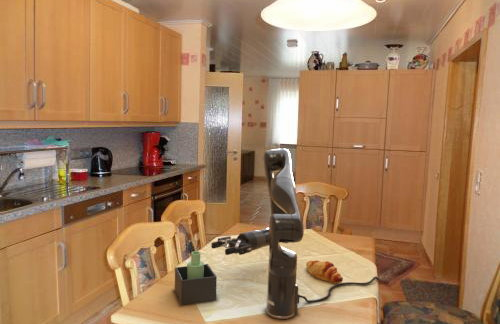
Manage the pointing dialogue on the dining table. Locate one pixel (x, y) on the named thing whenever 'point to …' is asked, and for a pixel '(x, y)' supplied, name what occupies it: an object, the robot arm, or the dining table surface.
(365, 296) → the dining table surface
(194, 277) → the bottle
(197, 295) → the bin
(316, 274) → the croissant
